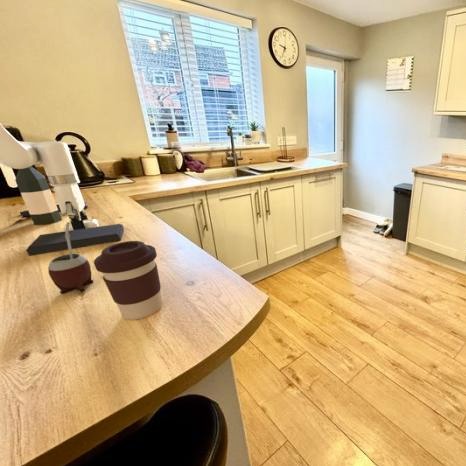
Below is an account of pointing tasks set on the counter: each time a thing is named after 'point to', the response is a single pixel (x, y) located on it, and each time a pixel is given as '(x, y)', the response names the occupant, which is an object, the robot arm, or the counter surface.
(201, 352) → the counter surface
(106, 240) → the dark grey flat bar
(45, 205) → the wine bottle
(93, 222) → the soap bar
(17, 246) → the counter surface
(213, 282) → the counter surface
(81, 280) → the mate gourd
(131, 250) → the coffee cup
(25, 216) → the door handle
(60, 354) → the counter surface
